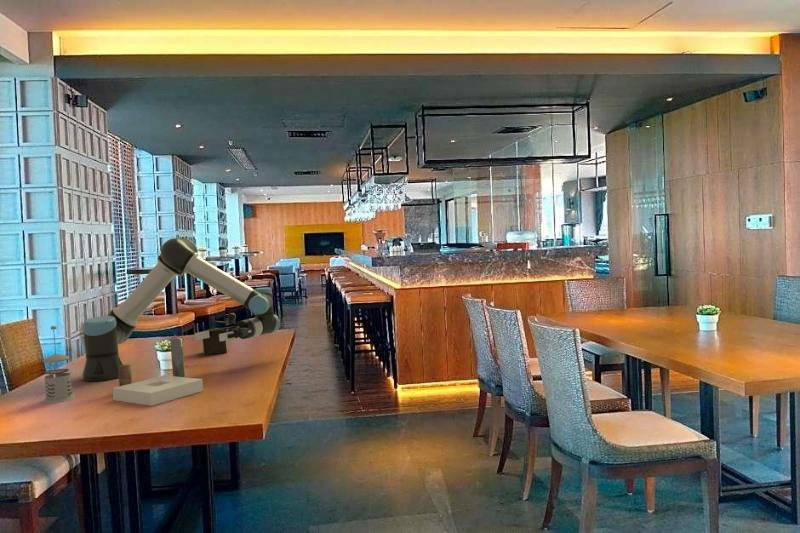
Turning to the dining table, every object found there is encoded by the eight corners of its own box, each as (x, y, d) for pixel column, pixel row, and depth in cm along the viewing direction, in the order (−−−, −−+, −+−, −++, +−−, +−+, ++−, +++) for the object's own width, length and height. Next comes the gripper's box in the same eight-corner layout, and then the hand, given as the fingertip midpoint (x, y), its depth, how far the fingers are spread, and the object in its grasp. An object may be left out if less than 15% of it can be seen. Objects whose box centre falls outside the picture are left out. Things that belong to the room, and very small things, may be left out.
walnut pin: (117, 392, 223) (115, 366, 222) (127, 389, 226) (125, 364, 226) (124, 393, 221) (122, 367, 220) (134, 390, 224) (132, 364, 224)
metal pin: (171, 383, 232) (167, 339, 231) (180, 381, 235) (177, 337, 235) (178, 384, 230) (174, 340, 229) (187, 381, 233) (184, 338, 232)
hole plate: (113, 400, 211) (112, 388, 211) (165, 386, 227) (164, 375, 227) (151, 405, 200) (150, 393, 200) (203, 390, 217) (202, 379, 216)
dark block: (203, 355, 288) (200, 316, 288) (202, 352, 299) (199, 313, 298) (238, 352, 293) (236, 312, 293) (236, 348, 304) (234, 310, 303)
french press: (46, 404, 210) (40, 328, 209) (38, 399, 219) (32, 326, 218) (79, 398, 216) (73, 324, 215) (69, 393, 225) (64, 322, 224)
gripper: (271, 338, 254) (231, 348, 237) (227, 336, 268) (186, 346, 250) (270, 319, 254) (229, 328, 236) (226, 319, 268) (184, 326, 250)
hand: (207, 337), depth 243 cm, fingers open, 13 cm apart
